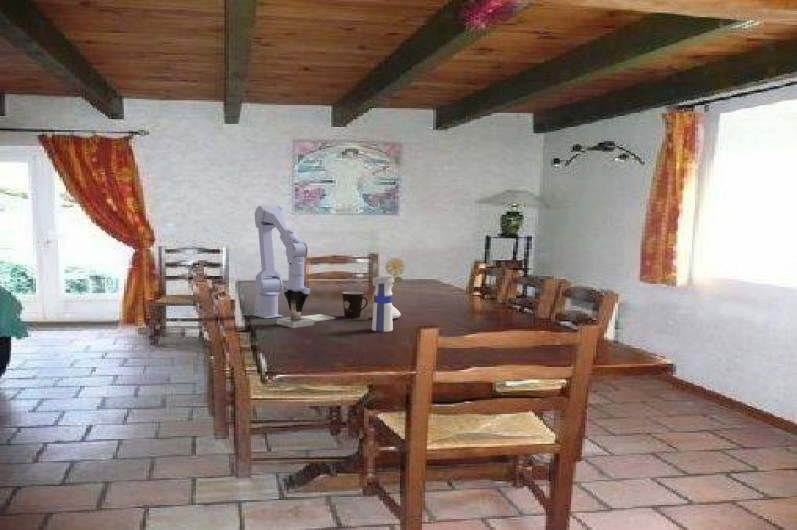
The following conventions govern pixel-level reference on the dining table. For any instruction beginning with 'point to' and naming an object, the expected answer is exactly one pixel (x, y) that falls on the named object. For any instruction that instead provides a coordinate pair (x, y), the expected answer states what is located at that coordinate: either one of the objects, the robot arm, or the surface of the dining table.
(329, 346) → the dining table surface
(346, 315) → the coffee mug
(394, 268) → the flower in vase
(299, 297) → the robot arm
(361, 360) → the dining table surface
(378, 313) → the water bottle
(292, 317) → the tan two-tone cylinder
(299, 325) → the square metal frame
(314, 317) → the mat
